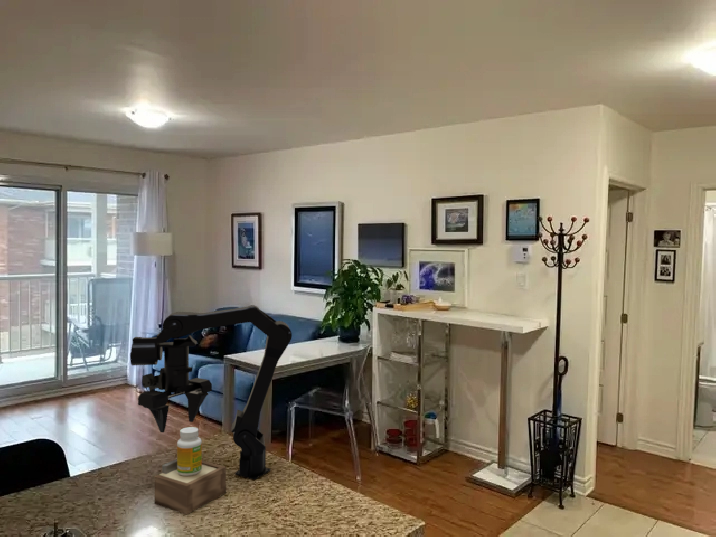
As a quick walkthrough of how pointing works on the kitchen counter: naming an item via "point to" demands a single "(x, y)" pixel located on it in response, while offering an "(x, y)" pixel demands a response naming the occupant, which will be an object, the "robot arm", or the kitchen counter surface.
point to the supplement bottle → (189, 452)
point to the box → (190, 490)
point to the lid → (171, 472)
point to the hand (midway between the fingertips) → (177, 426)
